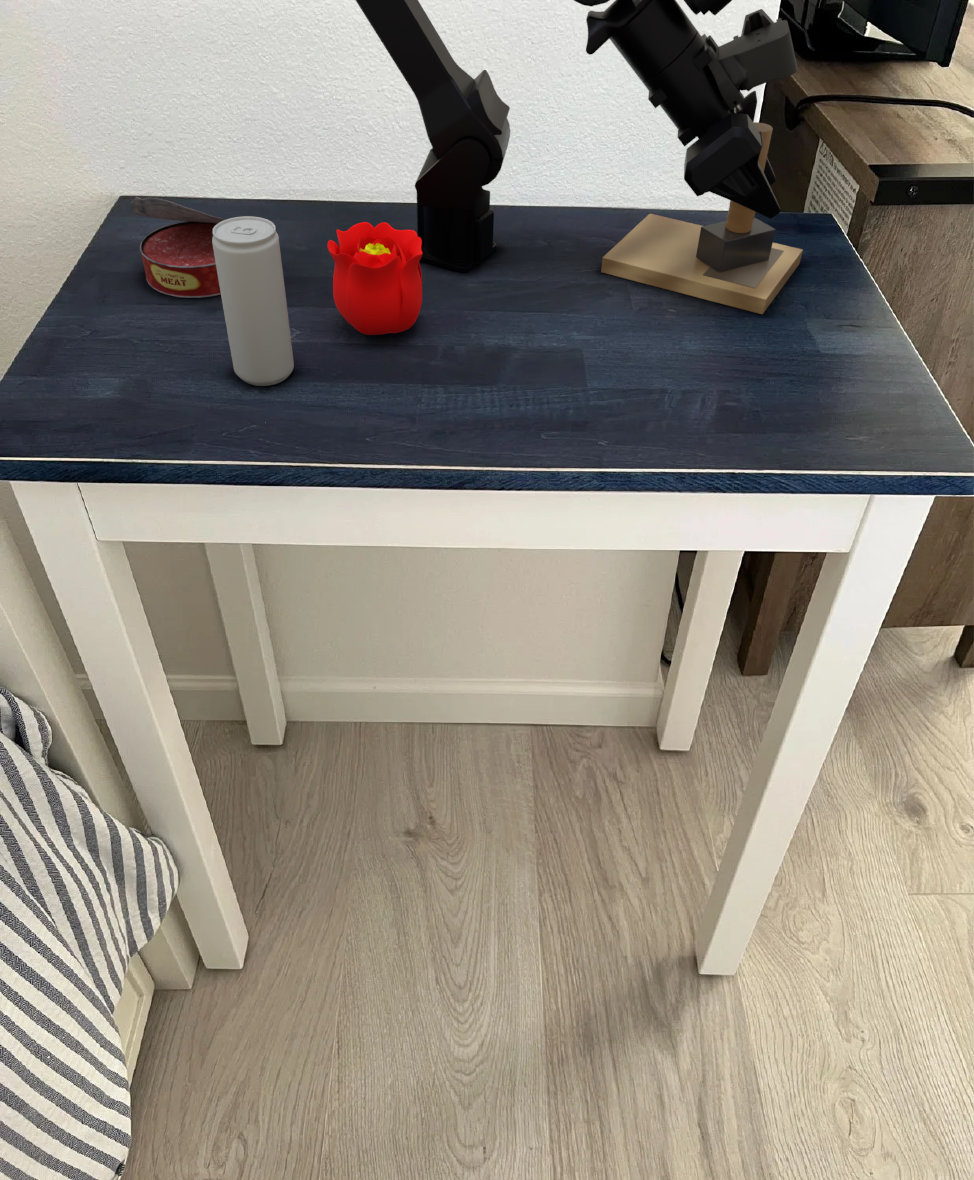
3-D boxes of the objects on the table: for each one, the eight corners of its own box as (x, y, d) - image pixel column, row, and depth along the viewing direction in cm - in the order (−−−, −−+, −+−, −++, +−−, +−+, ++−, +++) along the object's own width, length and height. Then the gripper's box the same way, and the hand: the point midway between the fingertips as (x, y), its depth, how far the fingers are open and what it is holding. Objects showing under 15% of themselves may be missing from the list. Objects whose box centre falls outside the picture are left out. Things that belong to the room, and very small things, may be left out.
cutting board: (600, 272, 96) (602, 256, 95) (647, 227, 104) (650, 212, 103) (762, 314, 91) (766, 298, 90) (799, 264, 99) (803, 248, 98)
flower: (433, 311, 90) (432, 224, 85) (416, 355, 84) (414, 264, 79) (347, 303, 91) (340, 216, 85) (324, 346, 85) (316, 255, 80)
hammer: (719, 272, 94) (745, 138, 85) (695, 257, 96) (718, 125, 88) (769, 259, 96) (799, 128, 88) (744, 245, 98) (771, 115, 90)
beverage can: (282, 392, 80) (263, 246, 72) (225, 384, 80) (199, 239, 72) (303, 361, 83) (286, 219, 75) (247, 354, 84) (225, 212, 76)
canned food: (154, 319, 97) (103, 215, 93) (246, 281, 101) (201, 179, 97) (184, 312, 87) (129, 196, 84) (284, 270, 91) (237, 157, 87)
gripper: (757, 13, 73) (869, 179, 80) (747, -43, 87) (844, 103, 93) (634, 119, 79) (748, 265, 86) (643, 51, 93) (741, 181, 99)
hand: (773, 198), depth 91 cm, fingers open, 7 cm apart
